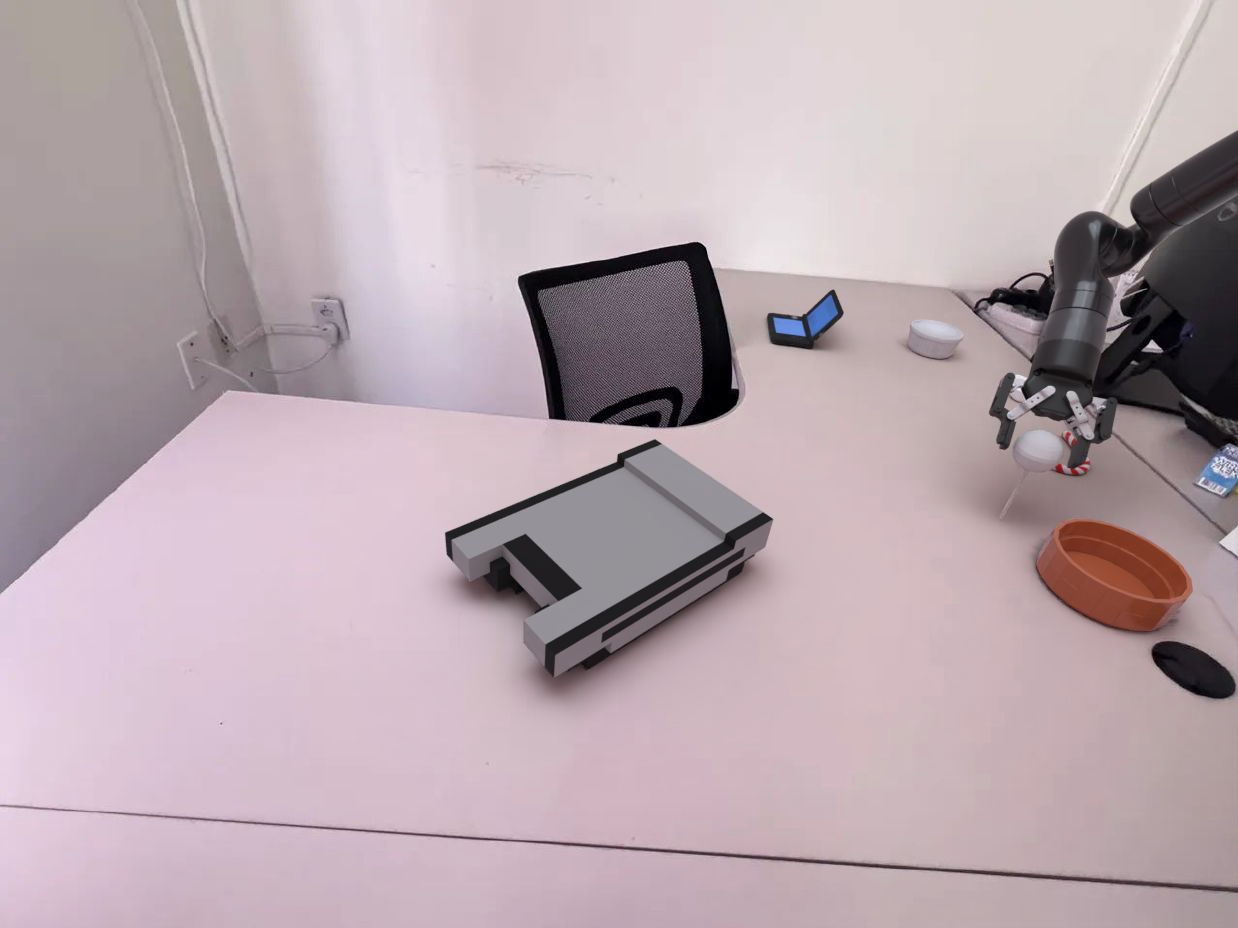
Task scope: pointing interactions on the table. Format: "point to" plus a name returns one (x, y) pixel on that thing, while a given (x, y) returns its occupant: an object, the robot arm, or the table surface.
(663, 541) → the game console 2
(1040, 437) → the lollipop
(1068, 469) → the candy cane
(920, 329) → the ramekin
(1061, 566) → the bowl
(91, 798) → the table surface
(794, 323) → the game console
